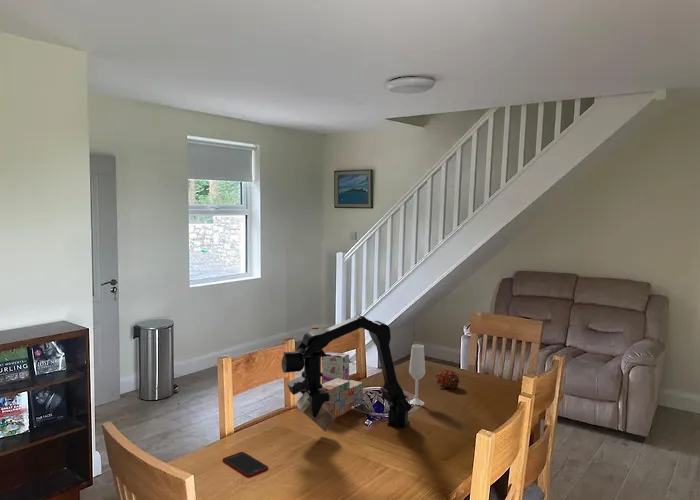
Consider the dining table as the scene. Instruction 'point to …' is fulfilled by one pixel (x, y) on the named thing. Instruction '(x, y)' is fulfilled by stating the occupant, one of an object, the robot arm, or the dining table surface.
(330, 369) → the candy bar box
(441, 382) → the dragon fruit
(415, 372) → the champagne flute
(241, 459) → the cell phone
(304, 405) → the silver metal block
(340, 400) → the stack of blocks
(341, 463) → the dining table surface
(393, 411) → the robot arm
